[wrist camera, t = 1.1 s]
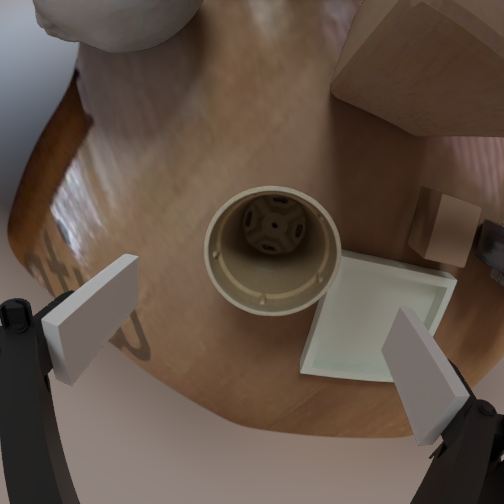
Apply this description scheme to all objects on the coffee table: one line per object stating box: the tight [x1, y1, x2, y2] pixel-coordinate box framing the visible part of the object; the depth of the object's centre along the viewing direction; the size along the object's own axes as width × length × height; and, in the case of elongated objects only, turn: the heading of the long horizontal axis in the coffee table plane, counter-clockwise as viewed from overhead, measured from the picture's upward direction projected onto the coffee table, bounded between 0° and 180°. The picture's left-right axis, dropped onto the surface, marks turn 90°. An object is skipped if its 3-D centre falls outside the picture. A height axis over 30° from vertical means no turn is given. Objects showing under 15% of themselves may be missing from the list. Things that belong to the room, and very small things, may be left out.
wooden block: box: [330, 0, 504, 137], centre depth 13 cm, size 10×10×20 cm
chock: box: [407, 187, 482, 268], centre depth 25 cm, size 6×5×4 cm
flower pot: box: [204, 186, 341, 316], centre depth 25 cm, size 9×9×9 cm
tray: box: [299, 249, 457, 382], centre depth 30 cm, size 14×14×2 cm
